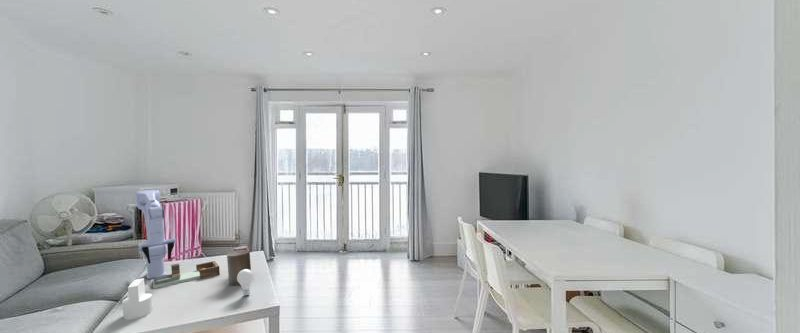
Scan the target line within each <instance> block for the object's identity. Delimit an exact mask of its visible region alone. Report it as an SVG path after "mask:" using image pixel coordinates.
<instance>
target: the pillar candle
mask: <svg viewBox="0 0 800 333" xmlns="http://www.w3.org/2000/svg"><path fill="white" fill-rule="evenodd" d="M226 257H227V260H226V261H227V272H228V284H229V285H230V286H241V285H240V284H239V282H238V281H237V275H238V273H239V272H240V271H241V270H243V269H249V270H251V271H252V267H251V266H252V265H251V253H250V249H249V250H237V251H234V250H233V251H231V252H228V253H227V254H226Z"/></svg>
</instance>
